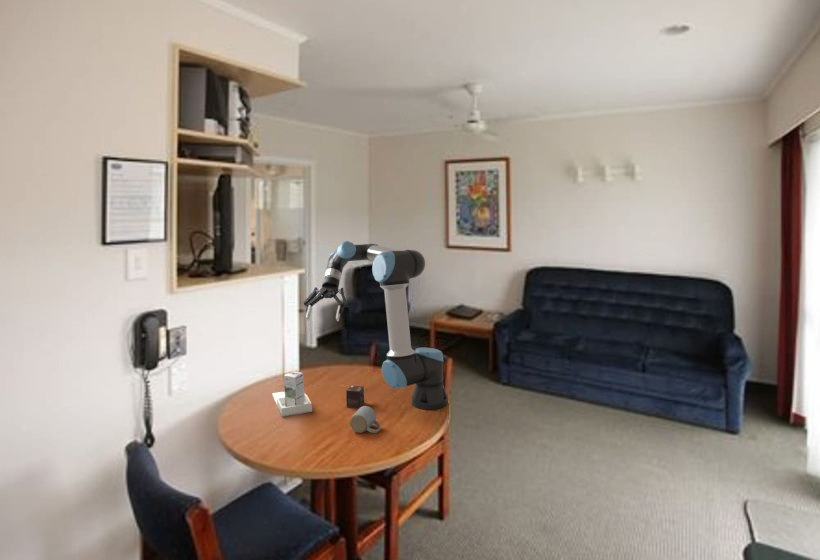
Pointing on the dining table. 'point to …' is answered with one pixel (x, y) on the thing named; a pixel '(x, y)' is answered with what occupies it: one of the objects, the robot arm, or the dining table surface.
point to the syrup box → (294, 389)
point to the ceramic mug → (364, 420)
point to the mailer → (291, 410)
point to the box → (355, 396)
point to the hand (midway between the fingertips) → (322, 319)
